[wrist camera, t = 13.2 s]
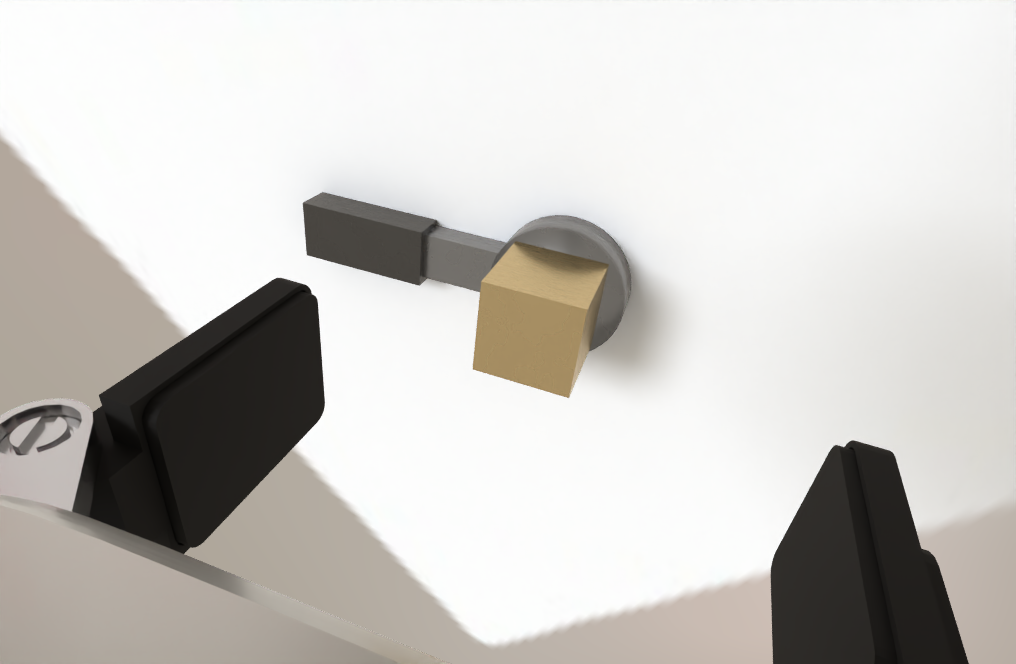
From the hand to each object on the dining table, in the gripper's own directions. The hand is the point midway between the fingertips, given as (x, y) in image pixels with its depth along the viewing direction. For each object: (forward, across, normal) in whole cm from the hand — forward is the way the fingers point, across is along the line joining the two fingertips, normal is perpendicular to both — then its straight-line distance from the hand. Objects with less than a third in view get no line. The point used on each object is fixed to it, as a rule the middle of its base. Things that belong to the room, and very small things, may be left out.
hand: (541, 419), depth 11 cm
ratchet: (+28, +12, +12) cm, 33 cm away
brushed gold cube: (+26, +5, +12) cm, 29 cm away
